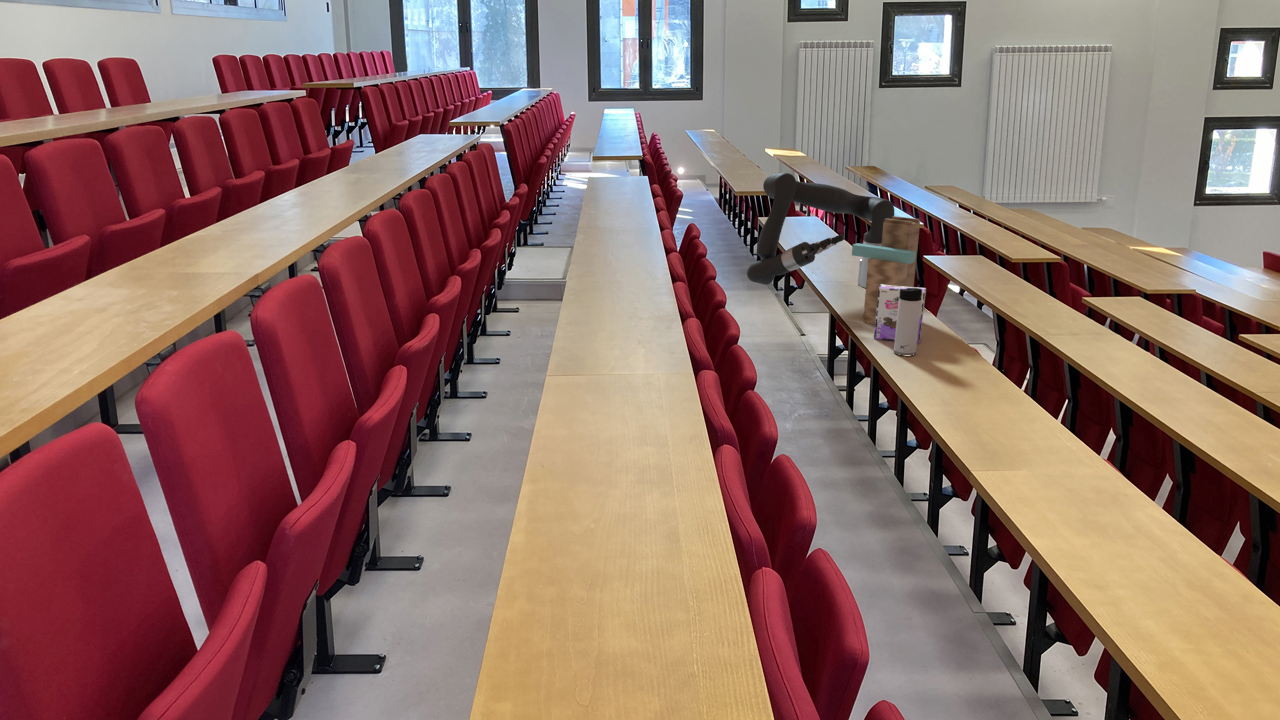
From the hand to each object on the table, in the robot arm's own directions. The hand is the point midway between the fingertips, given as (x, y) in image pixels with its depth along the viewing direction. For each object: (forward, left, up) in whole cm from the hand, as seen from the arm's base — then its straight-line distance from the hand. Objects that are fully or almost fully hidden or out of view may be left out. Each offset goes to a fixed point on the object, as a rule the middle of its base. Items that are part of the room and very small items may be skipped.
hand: (836, 238), depth 303 cm
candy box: (+33, -6, -26) cm, 42 cm away
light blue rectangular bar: (+16, +4, -4) cm, 17 cm away
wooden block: (+18, +5, -25) cm, 32 cm away
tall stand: (+16, +12, -25) cm, 32 cm away
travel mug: (+44, -16, -26) cm, 53 cm away
